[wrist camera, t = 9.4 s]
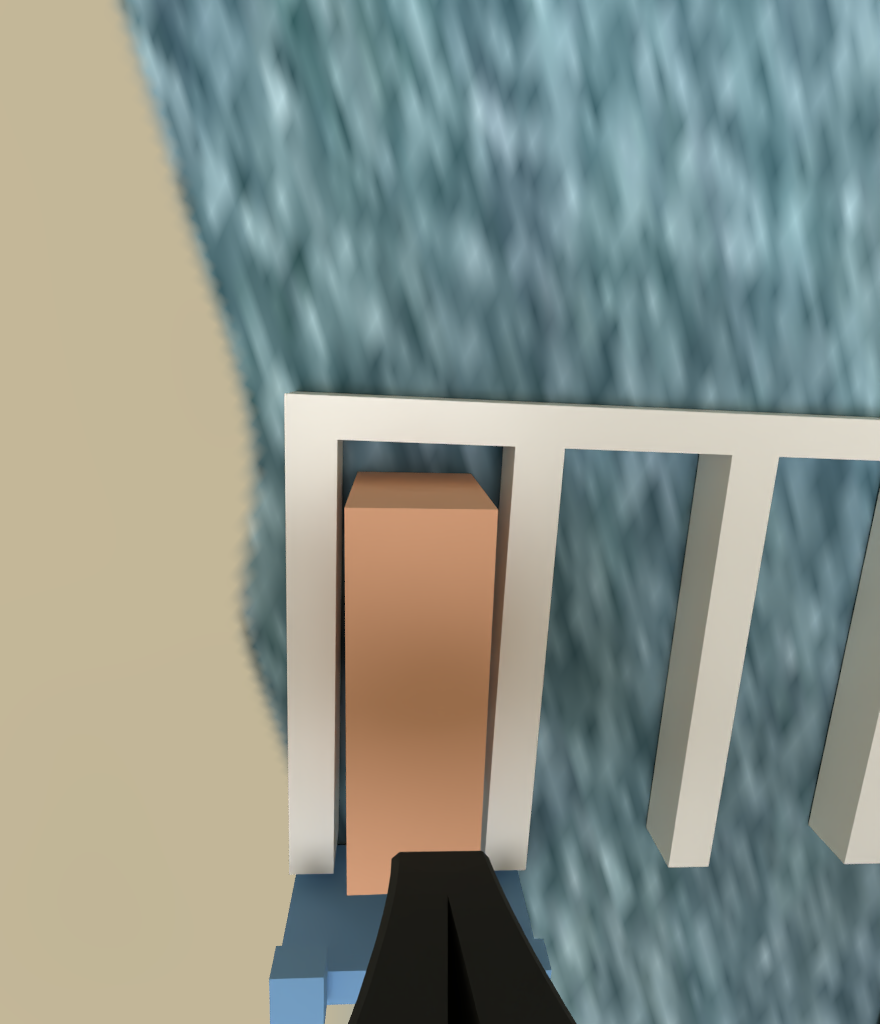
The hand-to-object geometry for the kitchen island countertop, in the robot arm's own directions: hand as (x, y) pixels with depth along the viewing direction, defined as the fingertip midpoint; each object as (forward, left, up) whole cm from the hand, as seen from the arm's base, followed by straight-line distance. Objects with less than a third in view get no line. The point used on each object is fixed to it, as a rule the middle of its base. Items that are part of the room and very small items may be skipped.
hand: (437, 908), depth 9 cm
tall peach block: (0, -1, -9) cm, 9 cm away
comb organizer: (-5, 0, -9) cm, 10 cm away
